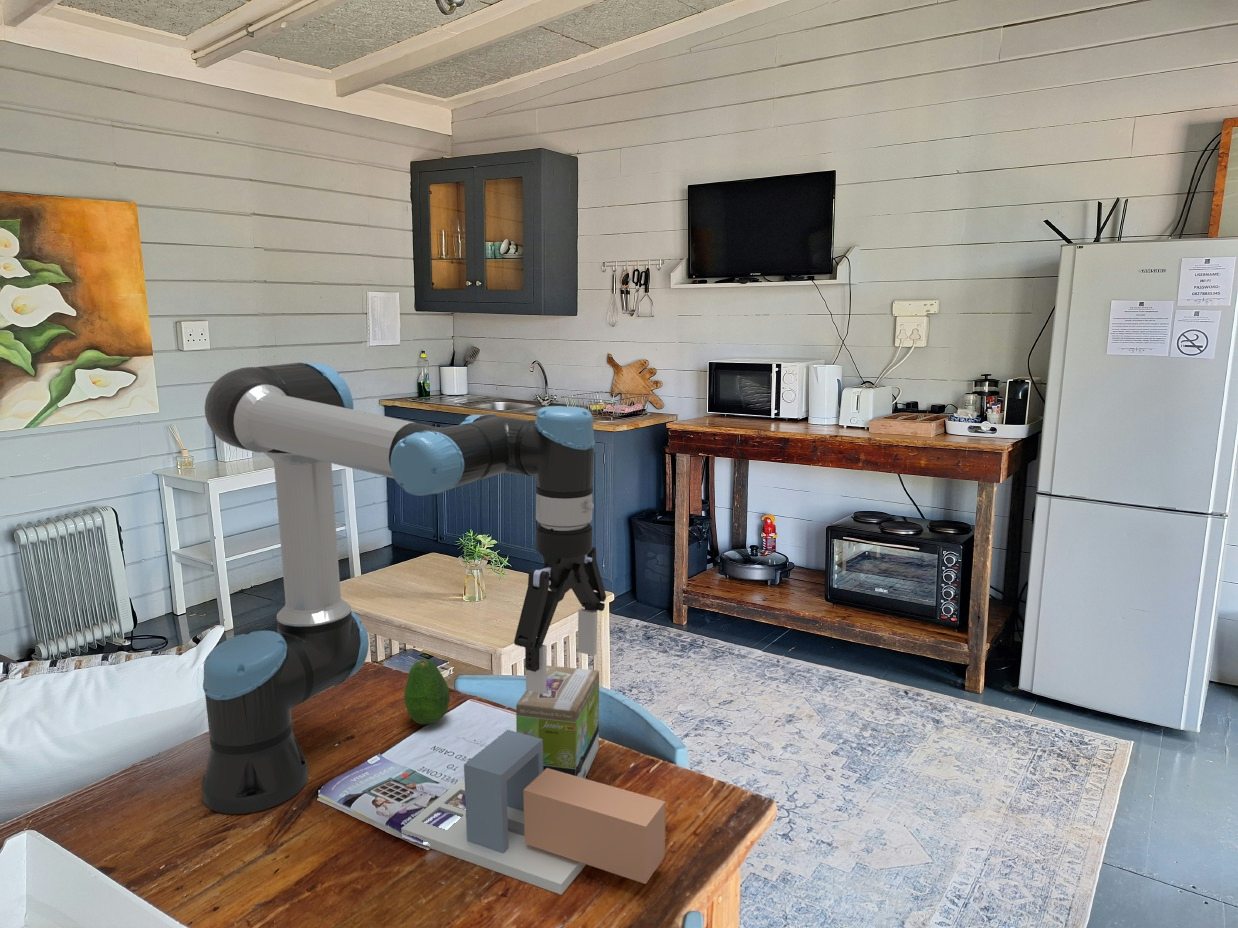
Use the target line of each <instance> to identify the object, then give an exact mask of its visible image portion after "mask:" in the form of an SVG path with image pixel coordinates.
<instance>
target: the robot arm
mask: <svg viewBox="0 0 1238 928" xmlns="http://www.w3.org/2000/svg"><path fill="white" fill-rule="evenodd" d="M353 400H354V399H353V395H352V392H351V389H350V387H349V386H348V383H347V382H346V380H345V379H344V377H343V376H340V374H339V373H338V371H337V370H335V368H332V367H331V366H328V365H326V364H324V363H318V362H303V361H301V362H292V363H283V364H275V365H273V364H272V365H264V366H262V365H261V366H247V367H240V368H237V369H234V370H231V371H228V372H226V373H224V374H223V375H222V376H220V377H219V378H218V379H217V380H215V382H213V384H212V385H211V387H210V388H209V390H208V392H207V395H206V398H205V402H204V416H205V420H206V423H207V425H208V427H209V428H210V431H212V433H213V434H214V435H215V436H216V437H217V438H218V439H220V441H222V442H223V443H226V444H228V445H229V446H232V447H234V448H238V449H242V450H246V451H249V452H252V453H259V454H260V453H263V454H265V456H267V457H268V458H270V460H272V461H273V467H274V468H273V469H274V479H275V490H276V491H275V492H276V501H277V502H276V504H277V515H278V526H279V538H280V539H279V540H280V551H281V552H280V553H281V561H282V563H281V565H282V577H283V588H284V600H285V605H284V606H283V607H282V608H281V609H280V610H279V611H278V612H277V614H276V623H277V624H276V626H277V632H276V631H273V630H255V631H251V632H250V633H249V632H248V634H246V633H241V634H238V635H235V636H233V637H231V638H227V639H226V640H224V641H222V642H220V643H219V644H218V645H216V646H215V647H214V648H212V650H211V651H210V652H209V653H208V654H207V655H206V658H205V660H204V663H203V682H202V689H203V692H204V694H205V695H204V696H205V697H204V698H205V706H206V714H207V724H208V734H209V735H208V736H209V742H210V743H209V744H210V751H209V754H208V760H207V765H206V769H205V773H204V775H203V778H202V781H201V794H202V801H203V804H204V806H206V807H207V808H208V809H210V810H211V811H214V812H216V813H220V814H226V815H230V814H231V815H240V814H241V815H243V814H250V813H251V814H252V813H257V812H260V811H264V810H268V809H270V808H273V807H276V806H278V805H281V804H283V803H284V802H286V801H288V800H290V799H292V798H294V796H296V795H297V794H298V793H299V792H301V791H302V789H303V788H305V786H306V785H307V782H308V778H309V769H308V762H307V759H306V757H305V755H304V752H303V750H302V748H301V746H300V744H299V742H298V740H297V737H296V736H295V733H294V731H293V722H292V719H293V718H292V709H293V708H295V707H296V706H297V707H298V705H300V704H302V703H305V702H307V701H308V700H310V699H312V698H314V697H316V696H317V695H319V694H321V693H323V692H325V691H327V690H329V689H331V688H332V687H337V686H339V685H341V684H343V683H344V682H346V680H348V679H349V678H350V677H352V676H354V675H355V674H356V673H358V672H359V671H360V669H362V667H363V666H364V664H365V661H366V660H367V658H368V652H369V647H370V646H369V635H368V631H367V628H366V626H365V625H362V622H363V621H362V619H361V618H360V616H359V615H358V614H357V613H355V612H354V611H353V610H352V605H350V604H349V602H347V601H345V599H343V598H342V597H341V596H342V595H341V582H340V581H341V579H340V567H339V553H338V538H337V536H338V535H337V525H336V524H337V523H336V508H335V497H334V482H333V481H334V480H333V466H332V464H333V465H338V466H341V467H345V468H346V467H347V468H349V469H353V470H358V471H363V472H366V473H370V474H375V475H379V476H383V477H387V478H391V479H394V480H395V482H396V483H397V485H399V486H400V487H402V489H403V490H404V492H405V493H408V494H410V495H413V496H419V497H420V496H421V497H422V496H423V497H425V496H428V495H437V494H443V493H446V492H447V491H449V490H452V489H454V488H457V487H460V486H463V485H467V484H469V483H472V482H476V481H481V480H483V479H486V478H487V479H488V478H490V477H494V476H496V475H500V474H515V475H523V476H529V477H535V482H536V484H535V485H536V486H535V487H536V489H535V490H536V494H535V495H536V496H535V501H536V502H535V520H536V521H537V522H538V524H537V525H536V527H535V550H536V551H537V552H538V553H539V554H540V555H541V556H542V558H543V563H542V564H543V565H542V568H541V569H534V568H531V569H529V571H528V578H527V580H528V581H527V589H526V593H525V596H524V601H523V605H522V609H521V613H520V617H519V621H518V625H517V627H516V628H517V629H516V632H515V637H514V640H513V644H514V645H515V646H518V647H521V648H524V649H525V650H524V651H525V653H524V654H525V655H524V658H525V660H524V662H525V664H524V665H525V666H524V667H525V691H526V690H530V691H533V692H537V693H541V694H544V693H546V666H547V665H548V663H547V652H548V651H547V645H545V644H544V642H545V639H546V637H547V635H548V634H547V633H548V631H549V628H550V626H551V624H552V620H553V618H554V615H555V612H556V609H557V607H558V604H559V602H561V601H562V600H563V599H564V597H565V595H566V593H568V592H569V591H570V590H572V592H573V593H574V595H575V597H576V599H577V601H578V602H579V603H580V605H581V607H582V608H579V609H578V613H577V615H578V616H577V617H578V618H577V619H578V620H577V622H578V623H577V652H578V653H580V654H585V655H588V656H593V657H594V656H596V655H597V649H598V648H597V645H598V644H597V643H598V640H597V637H598V635H597V634H598V611H600V612H603V611H604V610H605V606H606V604H605V601H606V600H607V594H606V591H605V587H604V584H603V579H602V576H601V575H602V574H601V573H600V568H599V564H598V561H597V548H596V547H595V546H593V526H592V525H591V523H590V522H591V521H592V520H593V510H594V508H595V504H594V503H593V490H594V489H593V481H594V480H593V479H594V475H593V474H594V451H595V450H594V448H595V446H596V441H595V436H594V435H595V433H594V432H595V431H594V416H593V415H592V412H590V411H589V410H588V409H587V408H584V407H579V406H571V405H570V406H569V405H568V406H563V405H555V406H545V407H541V408H539V409H538V411H537V412H536V416H535V417H536V418H535V419H525V418H518V417H517V418H516V417H509V416H508V417H507V416H500V415H496V414H491V413H489V414H471V415H469V416H467V417H466V418H464V421H462V422H460V423H459V424H457V425H452V426H451V425H450V426H447V427H439V426H433V425H429V424H428V425H427V424H424V423H417V422H414V421H410V420H404V419H400V418H394V417H390V416H385V415H381V414H377V413H371V412H366V411H361V410H356V409H355V408H354V401H353Z"/></svg>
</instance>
